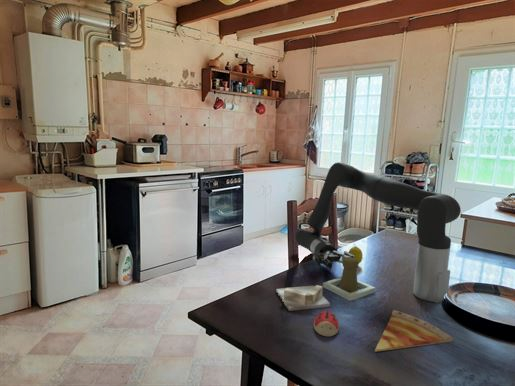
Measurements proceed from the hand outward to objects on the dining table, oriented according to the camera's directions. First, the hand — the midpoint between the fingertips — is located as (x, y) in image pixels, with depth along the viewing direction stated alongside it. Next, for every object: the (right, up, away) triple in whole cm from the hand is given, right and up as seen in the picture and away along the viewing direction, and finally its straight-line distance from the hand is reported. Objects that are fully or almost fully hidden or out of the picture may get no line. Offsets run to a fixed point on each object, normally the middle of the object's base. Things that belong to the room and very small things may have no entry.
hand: (342, 265), depth 125 cm
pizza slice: (+8, -12, -28) cm, 32 cm away
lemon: (+9, -4, +18) cm, 20 cm away
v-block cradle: (-15, -8, -12) cm, 21 cm away
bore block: (+1, -7, -4) cm, 8 cm away
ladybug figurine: (-11, -12, -28) cm, 32 cm away
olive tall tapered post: (+1, -8, -4) cm, 9 cm away
